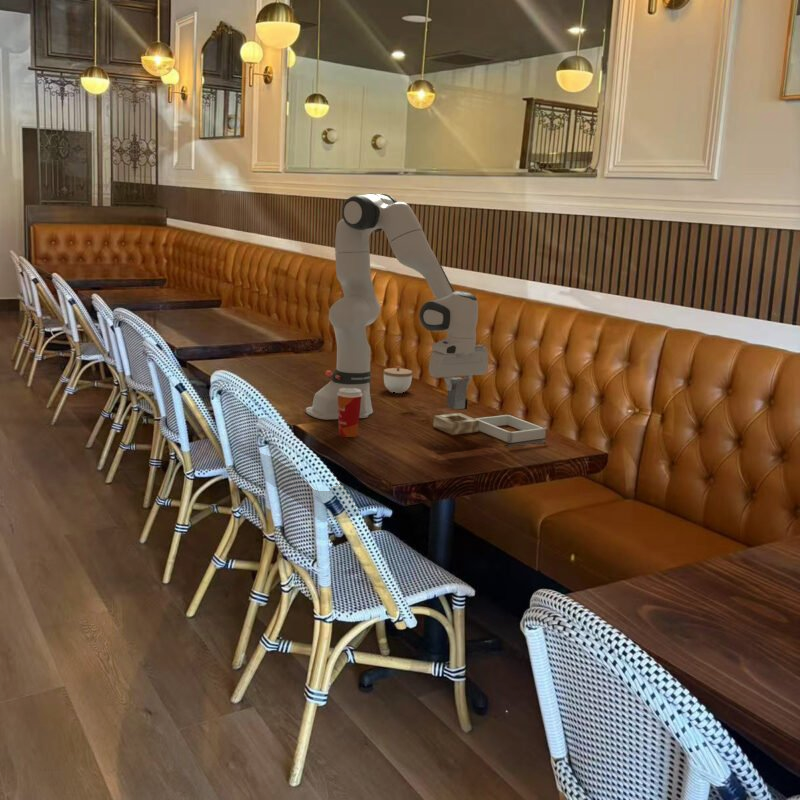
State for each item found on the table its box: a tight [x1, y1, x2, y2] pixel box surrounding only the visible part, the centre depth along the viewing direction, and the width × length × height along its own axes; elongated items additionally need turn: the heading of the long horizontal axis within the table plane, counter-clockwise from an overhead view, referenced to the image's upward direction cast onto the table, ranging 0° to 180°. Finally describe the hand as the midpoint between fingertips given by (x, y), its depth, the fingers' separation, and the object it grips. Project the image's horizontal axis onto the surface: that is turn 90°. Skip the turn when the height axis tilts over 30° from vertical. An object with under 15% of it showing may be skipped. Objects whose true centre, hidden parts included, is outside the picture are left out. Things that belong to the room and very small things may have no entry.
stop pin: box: [446, 376, 468, 410], centre depth 269 cm, size 4×4×9 cm
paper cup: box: [337, 388, 362, 438], centre depth 263 cm, size 8×8×14 cm
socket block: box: [432, 412, 479, 436], centre depth 271 cm, size 10×10×5 cm
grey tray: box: [474, 414, 547, 448], centre depth 270 cm, size 14×18×4 cm
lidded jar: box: [383, 365, 413, 394], centre depth 325 cm, size 11×11×9 cm
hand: (457, 389), depth 269 cm, fingers closed on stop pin, 4 cm apart
